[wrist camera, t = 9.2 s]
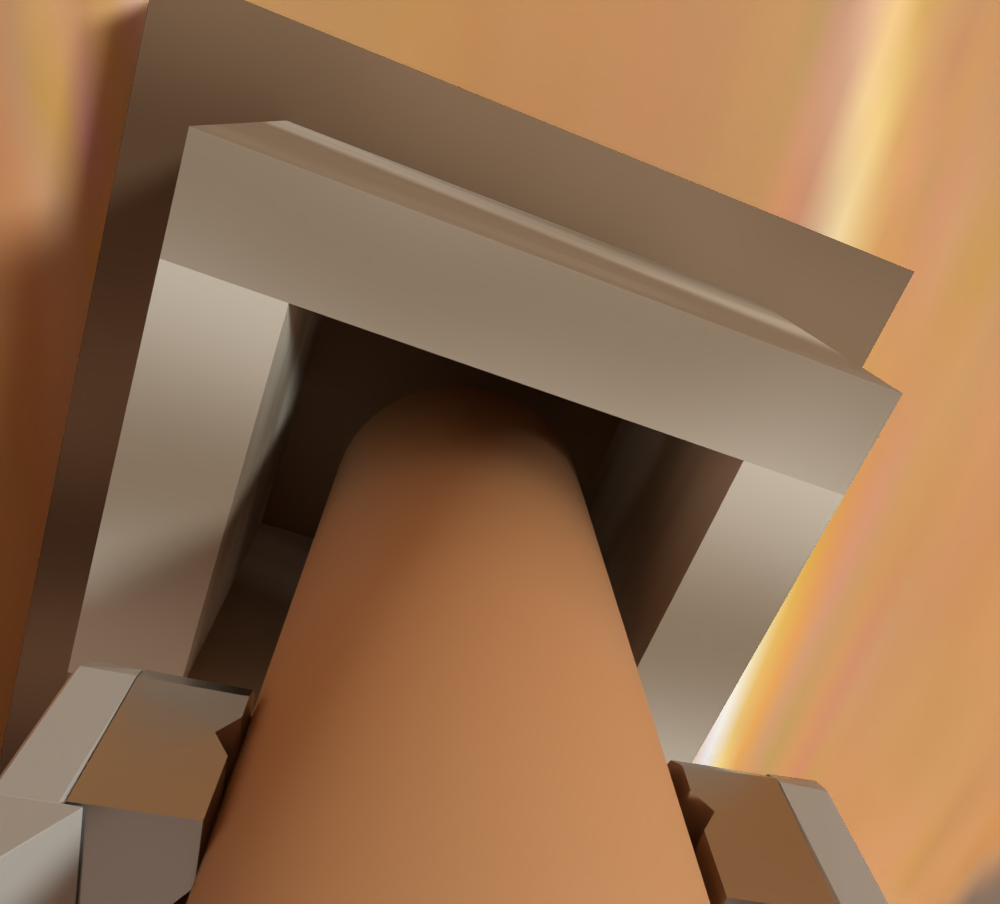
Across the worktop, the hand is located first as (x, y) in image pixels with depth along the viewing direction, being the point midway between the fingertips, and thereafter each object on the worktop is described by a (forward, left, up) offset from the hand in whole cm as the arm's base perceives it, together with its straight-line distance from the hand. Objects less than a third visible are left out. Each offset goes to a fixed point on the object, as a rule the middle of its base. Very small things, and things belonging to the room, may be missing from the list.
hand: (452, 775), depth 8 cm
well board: (-5, 0, -11) cm, 12 cm away
